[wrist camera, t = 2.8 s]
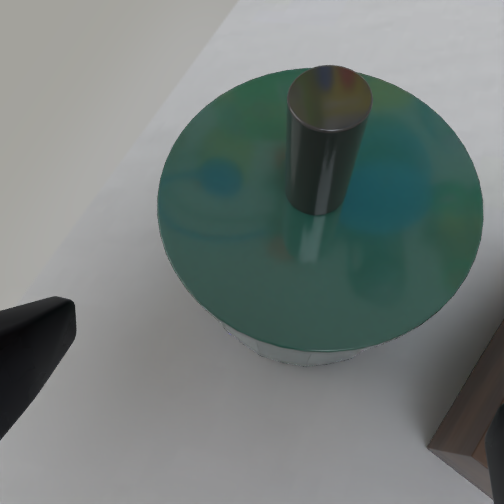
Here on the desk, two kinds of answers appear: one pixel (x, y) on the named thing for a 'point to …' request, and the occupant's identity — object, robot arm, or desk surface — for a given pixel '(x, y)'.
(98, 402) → the desk surface
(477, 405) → the lid rest
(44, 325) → the robot arm
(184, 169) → the lid
